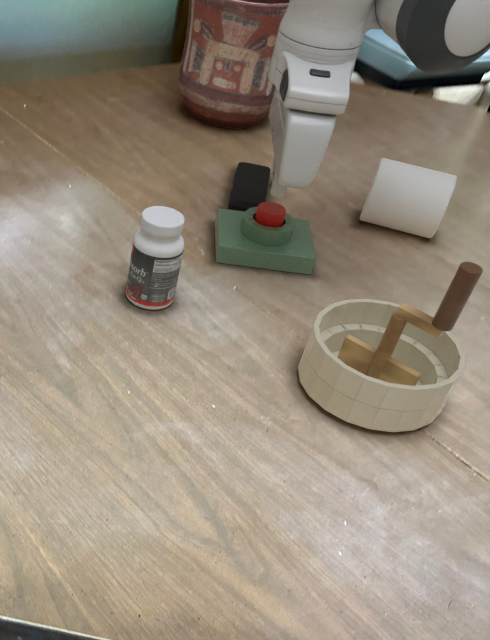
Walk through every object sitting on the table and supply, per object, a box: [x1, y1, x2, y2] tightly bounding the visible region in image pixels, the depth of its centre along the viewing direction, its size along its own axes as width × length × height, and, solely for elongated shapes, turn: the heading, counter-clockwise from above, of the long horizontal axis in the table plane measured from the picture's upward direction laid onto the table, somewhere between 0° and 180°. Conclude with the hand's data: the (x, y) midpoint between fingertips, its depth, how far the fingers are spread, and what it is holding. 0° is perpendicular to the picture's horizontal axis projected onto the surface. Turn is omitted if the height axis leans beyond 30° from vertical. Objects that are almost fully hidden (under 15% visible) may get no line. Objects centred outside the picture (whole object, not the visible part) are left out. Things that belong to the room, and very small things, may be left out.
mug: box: [359, 157, 458, 239], centre depth 105 cm, size 12×10×8 cm
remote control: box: [226, 161, 271, 212], centre depth 109 cm, size 5×2×15 cm
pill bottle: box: [125, 205, 186, 311], centre depth 86 cm, size 6×6×10 cm
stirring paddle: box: [337, 261, 484, 386], centre depth 75 cm, size 9×2×15 cm, turn 45°
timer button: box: [255, 201, 287, 228], centre depth 96 cm, size 4×4×2 cm
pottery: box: [178, 0, 290, 130], centre depth 121 cm, size 18×18×18 cm
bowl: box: [297, 298, 467, 433], centre depth 80 cm, size 15×15×6 cm
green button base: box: [214, 207, 317, 276], centre depth 98 cm, size 12×10×4 cm
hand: (276, 191), depth 94 cm, fingers closed
